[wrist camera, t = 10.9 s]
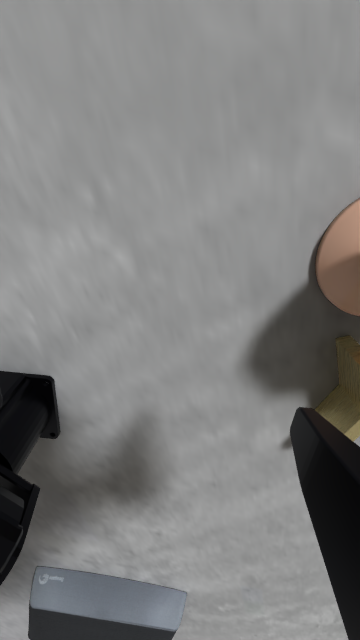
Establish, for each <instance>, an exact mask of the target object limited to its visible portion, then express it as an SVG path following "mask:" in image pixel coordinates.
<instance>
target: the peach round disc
mask: <svg viewBox="0 0 360 640" xmlns="http://www.w3.org/2000/svg"><path fill="white" fill-rule="evenodd" d="M315 270H316V277H317V282H318V284H319V287H320V289H321V291H322V292H323V294H324V295H325V296H326V298H327V299H328V300H329V301H330V302H332V303H333V304H334V305H335V306H336V307H338V308H339V309H341V310H342V311H344V312H347V313H349V314H352V315H356V316H360V198H358V199H357V200H355V201H354V202H352V203H351V204H350V205H349V206H347V207H346V208H345V209H344V210H343V211H342V212H341V213H340V214H339V215H338V216H337V217H336V218H335V219H334V220H333V222H332V223H331V224H330V226H329V227H328V229H327V230H326V232H325V234H324V236H323V238H322V240H321V242H320V245H319V247H318V251H317V255H316V263H315Z"/></svg>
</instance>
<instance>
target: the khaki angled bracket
mask: <svg viewBox="0 0 360 640" xmlns="http://www.w3.org/2000/svg"><path fill="white" fill-rule="evenodd" d="M336 350H337V361H338V372H339V383H340V384H339V385H338V386H337V387H336V388H335V389H334V390H333V391H332V392H331V393H330V394H329V395H328V396H327V397H326V398H325V399H324V401H323V402H322V403H321V404H320V405H319V406H318V407H317V408H316V409H315V411H316V412H318V413H319V414H320V415H321V416H322V417H324V418H325V419H326V420H327V421H329V422H330V423H331V424H332V425H333V426H335V427H336V428H337V429H338V430H340V431H341V432H342V433H343V434H344V435H346V436H347V437H348V438H349V439H351V440H352V441H354V440H356V439H357V438H358V437H359V436H360V345H359V344H358V343H357V342H356V341H355V340H354V339H353V338H352V337H351V336H350V335H349V336H345V337H340V338H336Z"/></svg>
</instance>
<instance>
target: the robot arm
mask: <svg viewBox="0 0 360 640" xmlns="http://www.w3.org/2000/svg"><path fill="white" fill-rule="evenodd" d="M45 381H46V382H48V383H46V382H45ZM59 434H60V425H59V417H58V409H57V400H56V392H55V384H54V379H53V378H52V377H50V376H46V375H36V374H25V373H15V372H5V371H0V585H1V584H2V582H3V581H4V580H5V578H6V577H7V575H8V574H9V572H10V571H11V569H12V567H13V565H14V564H15V562H16V560H17V558H18V556H19V554H20V552H21V550H22V547H23V544H24V541H25V538H26V535H27V531H28V528H29V525H30V521H31V518H32V515H33V511H34V508H35V505H36V501H37V498H38V494H39V491H40V488H39V487H38V486H36V485H35V484H33V485H32V484H31V483H29V482H28V481H26V480H25V479H23V478H22V477H20V476H19V475H17V474H18V472H19V470H20V469H21V467H22V465H23V464H24V462H25V460H26V459H27V457H28V455H29V454H30V452H31V450H32V449H33V447H34V445H35V444H36V442H37V440H38V439H39V437H40V438H51V439H56V438H57V437H58V436H59ZM290 436H291V441H292V446H293V451H294V456H295V461H296V466H297V471H298V476H299V480H300V485H301V488H302V492H303V495H304V499H305V502H306V505H307V508H308V511H309V515H310V518H311V521H312V524H313V527H314V530H315V534H316V537H317V540H318V543H319V546H320V550H321V553H322V556H323V559H324V562H325V566H326V569H327V572H328V575H329V578H330V582H331V585H332V588H333V591H334V594H335V598H336V601H337V604H338V607H339V610H340V614H341V617H342V620H343V623H344V626H345V629H346V633H347V636H348V639H349V640H360V447H359V446H358V445H357V444H355V443H354V442H353V441H352V440H351V439H349V438H348V437H347V436H346V435H344V434H343V433H342V432H341V431H340V430H338V429H337V428H336V427H335V426H333V425H332V424H331V423H330V422H329V421H327V420H326V419H325V418H324V417H322V416H321V415H320V414H319V413H318V412H316V411H315V410H314V409H312V408H304V407H299V408H298V409H297V410H296V412H295V415H294V418H293V421H292V424H291V427H290Z"/></svg>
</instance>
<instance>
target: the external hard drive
mask: <svg viewBox="0 0 360 640" xmlns="http://www.w3.org/2000/svg"><path fill="white" fill-rule="evenodd" d="M186 596H187V593H186V592H183V591H179V590H176V589H171V588H167V587H162V586H158V585H153V584H149V583H144V582H139V581H134V580H128V579H123V578H118V577H112V576H106V575H100V574H94V573H87V572H80V571H74V570H66V569H58V568H49V567H39V566H38V567H36V571H35V575H34V579H33V584H32V589H31V596H30V603H29V631H28V637H29V639H30V640H172V638H173V636H174V634H175V633H176V631H177V629H178V627H179V625H180V622H181V619H182V615H183V611H184V607H185V601H186Z"/></svg>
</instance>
